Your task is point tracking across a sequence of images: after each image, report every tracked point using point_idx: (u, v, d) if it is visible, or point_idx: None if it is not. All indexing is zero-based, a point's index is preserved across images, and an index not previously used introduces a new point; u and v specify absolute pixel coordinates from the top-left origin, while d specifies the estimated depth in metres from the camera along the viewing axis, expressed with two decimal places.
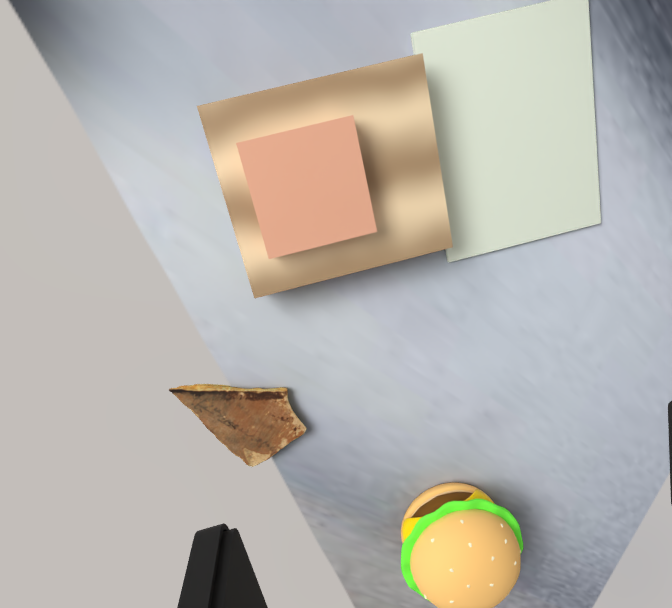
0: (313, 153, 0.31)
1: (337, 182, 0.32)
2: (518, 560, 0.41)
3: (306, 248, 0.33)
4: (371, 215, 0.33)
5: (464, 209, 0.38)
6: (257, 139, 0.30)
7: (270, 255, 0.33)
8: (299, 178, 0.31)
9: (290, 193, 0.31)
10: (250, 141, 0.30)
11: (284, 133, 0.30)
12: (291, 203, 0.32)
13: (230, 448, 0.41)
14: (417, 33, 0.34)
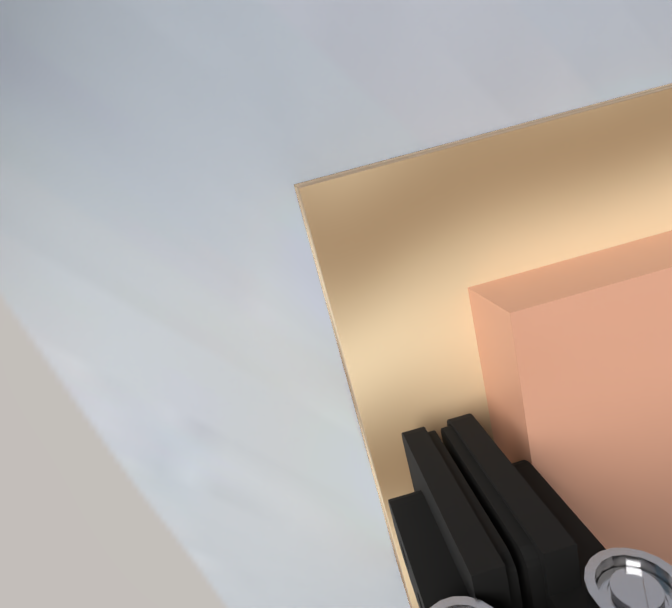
0: None
1: None
2: None
3: None
4: None
5: None
6: (582, 296, 0.09)
7: None
8: None
9: (653, 452, 0.10)
10: (558, 304, 0.09)
11: None
12: (650, 478, 0.10)
13: None
14: None
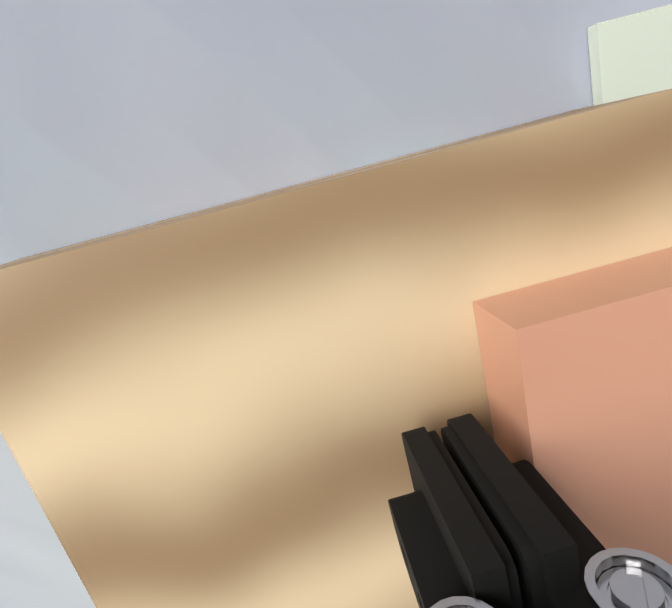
0: None
1: None
2: None
3: None
4: None
5: None
6: (587, 314, 0.09)
7: None
8: None
9: (655, 467, 0.10)
10: (563, 321, 0.09)
11: None
12: (652, 492, 0.10)
13: None
14: (611, 25, 0.12)
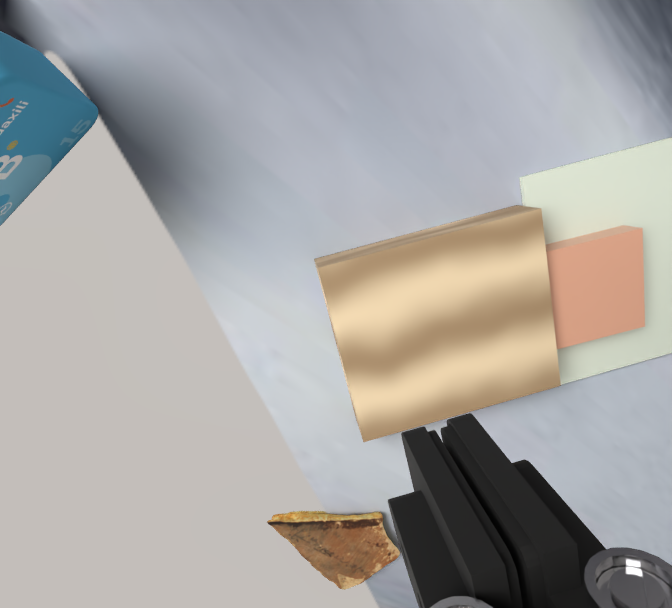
0: (603, 260, 0.35)
1: (619, 285, 0.35)
2: None
3: (583, 341, 0.36)
4: (642, 312, 0.36)
5: None
6: (559, 249, 0.34)
7: None
8: (588, 282, 0.35)
9: (578, 295, 0.35)
10: (553, 251, 0.34)
11: (582, 244, 0.34)
12: (577, 303, 0.35)
13: (324, 574, 0.41)
14: (527, 177, 0.34)
